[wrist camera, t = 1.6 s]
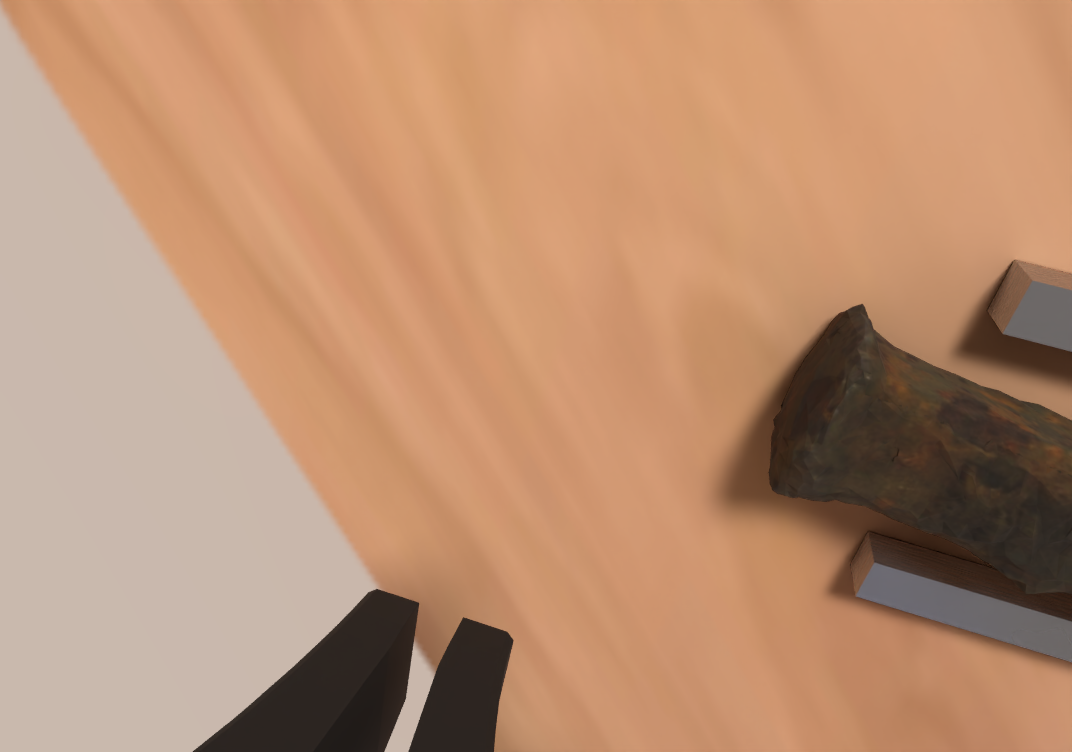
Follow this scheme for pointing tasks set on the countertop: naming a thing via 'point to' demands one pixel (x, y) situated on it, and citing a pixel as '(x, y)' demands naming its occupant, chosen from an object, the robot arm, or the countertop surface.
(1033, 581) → the dark brown log
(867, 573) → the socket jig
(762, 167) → the countertop surface
